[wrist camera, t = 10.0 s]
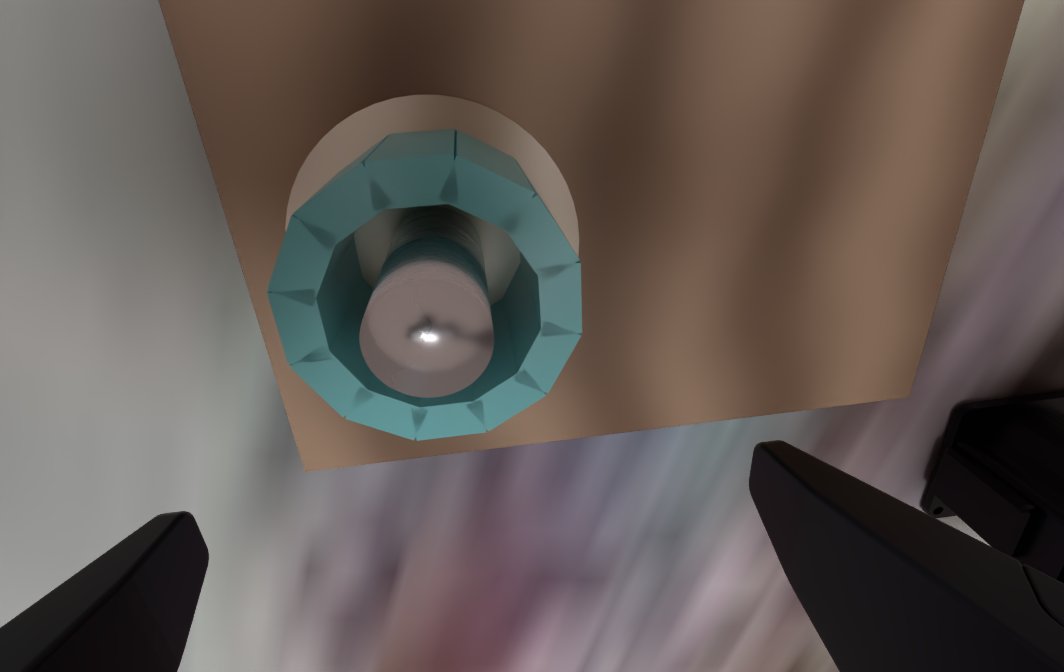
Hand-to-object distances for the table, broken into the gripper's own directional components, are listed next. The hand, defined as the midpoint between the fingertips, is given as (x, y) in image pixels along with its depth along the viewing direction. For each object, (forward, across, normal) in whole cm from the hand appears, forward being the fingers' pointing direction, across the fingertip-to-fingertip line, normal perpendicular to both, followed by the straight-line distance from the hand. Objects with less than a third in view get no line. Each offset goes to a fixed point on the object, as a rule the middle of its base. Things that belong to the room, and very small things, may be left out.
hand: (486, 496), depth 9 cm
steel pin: (+10, +1, -1) cm, 10 cm away
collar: (+10, +1, -1) cm, 10 cm away
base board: (+12, -5, -1) cm, 13 cm away
